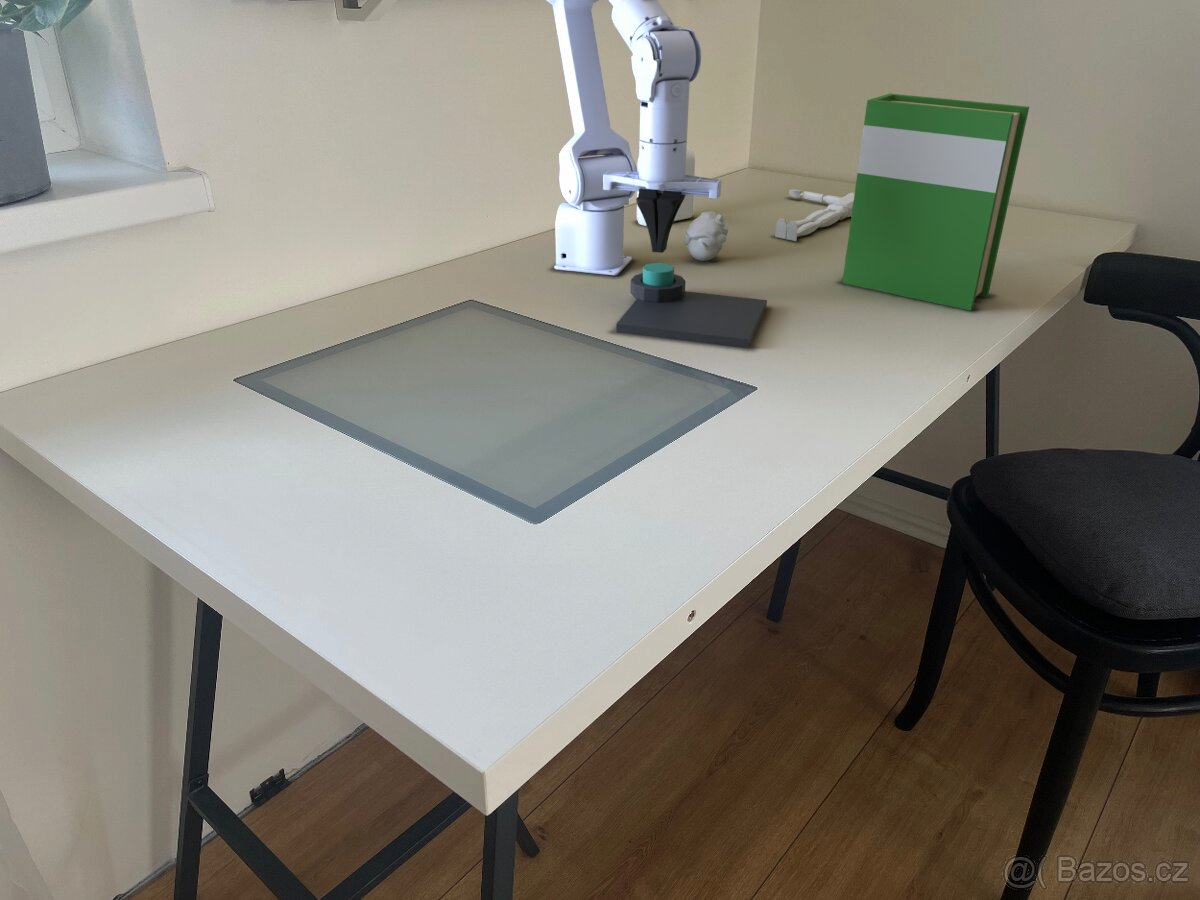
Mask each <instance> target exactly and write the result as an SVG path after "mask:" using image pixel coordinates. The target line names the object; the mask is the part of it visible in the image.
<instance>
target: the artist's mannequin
mask: <svg viewBox="0 0 1200 900" xmlns="http://www.w3.org/2000/svg"><path fill="white" fill-rule="evenodd" d="M854 194H855V192H849V193H847V194H846V195H844V196H842V197H841V196H836V195H831V194H827V195H825V194H824V193H819V192H814V191H807V190H804V191H803V190H800V189H789V190H788V195H789V196H790V197H792V198H799V199H800V198H802V197H803V199H806V200H809V201H814V202H818V203H824V202H825V203H826V204H828V205H827V207H826V208H825V209H821V208H820V209H818V210H815V211H813V212H811V213H810V214H809V215H808V216H806V217H805V218H804V219H798V220H790V221H789V222H788V223H787V221H786V219H785V218H779V219H778V220H777V221H776V224H775V238H778V239H782V240H783V239H784V240H788V241H793V242H797V240H798V237H804V236H808V235H810V234H812V233H813V232H815V231H816V230H817V229H818V228H825V227H829V226H832V225H834V224H836V223H837V222H838V221H843V220H844V219H847V218H850V217H851V216H852V209H853V201H854Z"/></svg>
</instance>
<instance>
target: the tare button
mask: <svg viewBox="0 0 1200 900" xmlns="http://www.w3.org/2000/svg"><path fill="white" fill-rule="evenodd" d="M642 273H643V283H644V284H647V285H652V286H668V285H671V284H673V283H674V274H675V267H674V265H671V264H669V263H664V262H651V263H647V264H645V265H643V266H642Z"/></svg>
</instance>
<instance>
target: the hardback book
mask: <svg viewBox="0 0 1200 900" xmlns="http://www.w3.org/2000/svg"><path fill="white" fill-rule="evenodd" d="M866 100H867V101H866V107H865V115H864V120H863V121H864V122H863V127H862V128H863V129H862V130H863V131H862V137H861V143H860V151H859V159H858V166H857V171H856V173H857V174H856V180H855V188H854V193H855V194H854V201H853V209H852V216H851V218H850V225H849V232H848V238H847V239H848V240H847V247H846V253H845V260H844V269H843V275H842V284H844V285H845V284H846V285H851V286H855V287H860V288H864V289H869V290H874V291H878V292H884V293H888V294H890V295H895V296H899V297H904V298H909V299H915V300H917V301H923V302H929V303H933V304H938V305H943V306H947V307H952V308H956V309H961V310H966V311H972V310H973V309H974V306H975V301H976V298H977V297H978V296H979V297H985V298H987V297H988V296H989V294H990V290H991V285H992V281H993V275H994V272H995V266H996V262H997V257H998V252H999V249H1000V244H1001V240H1002V239H1001V238H1002V234H1003V230H1004V225H1005V221H1006V216H1007V211H1008V208H1009V207H1008V206H1009V202H1010V198H1011V194H1012V189H1013V185H1014V184H1013V183H1014V179H1015V175H1016V170H1017V166H1018V161H1019V156H1020V152H1021V147H1022V144H1023V143H1022V142H1023V137H1024V133H1025V129H1026V124H1027V119H1028V114H1029V110H1030V106H1024V105H1016V104H1015V105H1014V104H1004V103H994V102H985V101H984V102H983V101H974V100H973V101H972V100H963V99H962V100H961V99H950V98H940V97H930V96H922V95H921V96H920V95H909V94H900V93H899V94H898V93H887V94H884V95H883V94H882V95H880V96H876V97H873V98H870V99H866Z"/></svg>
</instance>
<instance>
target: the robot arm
mask: <svg viewBox="0 0 1200 900" xmlns="http://www.w3.org/2000/svg"><path fill="white" fill-rule="evenodd" d="M545 1H546V2H548V3H549V4H551V5H552V10H553V11H552V12H553V16H554V22H555V23H554V24H555V28H556V35H557V40H558V45H559V51H560V52H559V53H560V58H561V64H562V69H563V74H564V81H565V86H566V92H567V99H568V104H569V109H570V117H571V122H572V127H573V132H574V134H573V136H572V137H570V139H569V140H568V142H566V143H565V144H564V146H563V147H562V148H561V150H560V152H559V154H558V161H559V188H560V191H561V195H562V196H563V198H564V199H565V202H561V203H560V205H559V206H558V208H557V212H556V216H555V225H554V229H555V230H554V231H555V265H554V268H553V269H554V270H559V271H569V272H578V273H586V274H596V275H605V276H614V277H615V276H618V275H619V274H620V273H621V272H622V271H623V270H624V269H625V268H626V267H627V266H628V265H629V264H630V263H631V262H632V260H633V257H632V256H627V255H624V241H625V240H624V238H625V236H624V235H625V228H624V227H625V207H626V206H628V205H629V204H630V199H631V198H633V196H634V195H635V193H636V192H637V191H639V194H638V197H637V196H636V198H635V202H636V206H637V205H638V207H639V209H640V211H641V213H642V215H643V217H644V220H645V222H646V225H647V226H646V228H647V231H648V236H649V240H650V246H651V252H652V253H658V254H659V253H660V254H662V253H664V252H665V251H666V250H667V246H668V241H669V237H670V233H671V230H672V227H673V225H674V222H675V221H674V219H675V217H676V214H677V212H678V210H679V208H680V206H681V204H682V202H683V200H684V198H685V195H692V196H693V197H707V198H709V199H712V200H717V199H719V198H720V197H721V193H722V179H720V178H709V177H704V176H697V175H694V176H692V175H686V174H685V169H686V148H687V147H688V145H687V144H688V128H689V127H688V125H689V105H690V104H689V103H690V86H691V85H690V84H691V82H693V81H695V79H696V78H697V77H698V75H699V73H700V69H701V66H702V65H701V64H702V50H701V45H700V41H699V39H698V37H697V35H696V33H695V30H693V29H692V28H688V27H687V28H683V27H682V26H681V25H675V23H674V22H673V20H672V19H671V17H670V16H669V14H668V13H667V11H666V10H665V9H664V7H663V6H662V5H661V2H659V0H608V2H609V3H610V4H611V6H612V9H611V10H612V11H611V20H612V23H613V25H614V28H615V29H616V30H617V31H618V33H619V35H620V36H621V38H622V39H623V41H624V42H625V44H626V45H627V47H628V49H629V51H630V52H631V53H632V55H631V56H630V57H631V59H630V60H631V69H632V73H633V76H634V79H635V94H636V98H637V99H638V100H640V103H639V104H640V106H639V142H638V143H639V147H638V148H639V149H638V159H639V172H638V171H637V163H636V162H635V160H634V157H633V155H632V152H631V148H630V143H629V141H628V140H627V139H625V138H624V137H623V136H621V134H619V133H617V132H616V131H615V130H613V129H612V128H611V123H610V122H611V121H610V117H609V109H608V104H607V103H608V102H607V99H606V92H605V85H604V79H603V74H602V67H601V63H600V62H601V60H600V55H599V49H598V43H597V38H596V31H595V26H594V18H593V14H592V9H593V6H594V4H596V3H597V2H598V1H600V0H545Z"/></svg>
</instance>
